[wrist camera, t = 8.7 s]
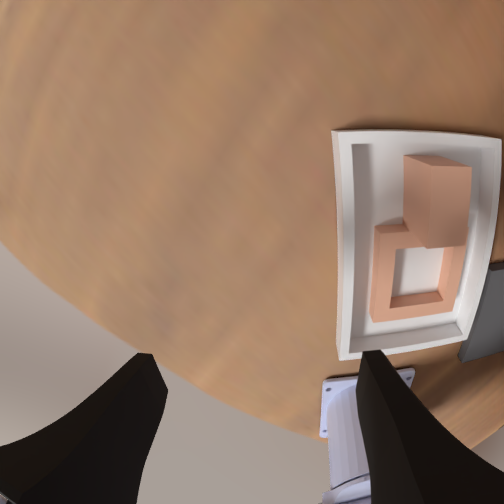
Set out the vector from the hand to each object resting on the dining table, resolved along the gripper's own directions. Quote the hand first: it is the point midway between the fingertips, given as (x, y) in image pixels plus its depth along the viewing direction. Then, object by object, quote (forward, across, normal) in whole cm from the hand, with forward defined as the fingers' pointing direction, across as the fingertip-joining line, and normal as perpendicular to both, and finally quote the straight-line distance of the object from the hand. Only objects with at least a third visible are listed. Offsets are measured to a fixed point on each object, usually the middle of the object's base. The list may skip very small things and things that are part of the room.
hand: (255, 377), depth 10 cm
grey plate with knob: (+9, -20, +6) cm, 23 cm away
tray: (+9, -9, 0) cm, 13 cm away
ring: (+9, -9, -1) cm, 13 cm away
